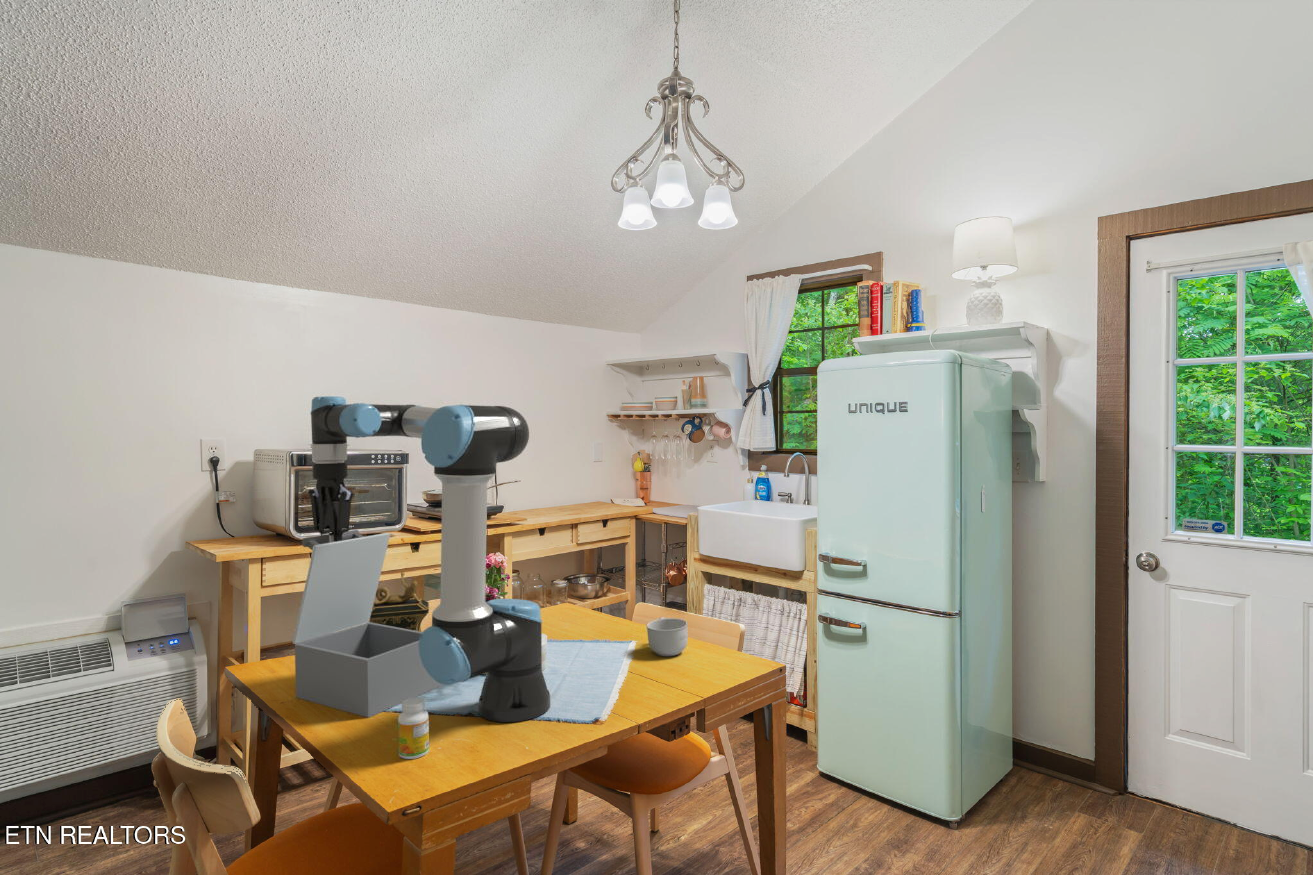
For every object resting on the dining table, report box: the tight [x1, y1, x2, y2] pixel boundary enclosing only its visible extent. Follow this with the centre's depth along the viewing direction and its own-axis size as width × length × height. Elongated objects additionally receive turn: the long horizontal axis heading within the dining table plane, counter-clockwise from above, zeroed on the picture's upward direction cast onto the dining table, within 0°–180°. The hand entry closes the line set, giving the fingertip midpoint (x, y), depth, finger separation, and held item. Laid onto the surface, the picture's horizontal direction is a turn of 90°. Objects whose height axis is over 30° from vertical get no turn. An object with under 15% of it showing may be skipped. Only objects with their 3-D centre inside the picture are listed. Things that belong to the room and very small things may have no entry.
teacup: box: [646, 616, 689, 657], centre depth 190 cm, size 14×11×8 cm
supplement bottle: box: [397, 696, 430, 760], centre depth 132 cm, size 5×5×10 cm
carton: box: [294, 622, 441, 719], centre depth 163 cm, size 24×20×12 cm
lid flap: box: [292, 529, 391, 645], centre depth 169 cm, size 24×20×9 cm
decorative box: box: [369, 570, 430, 632], centre depth 198 cm, size 20×10×20 cm, turn 107°
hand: (332, 561), depth 169 cm, fingers closed on lid flap, 2 cm apart
